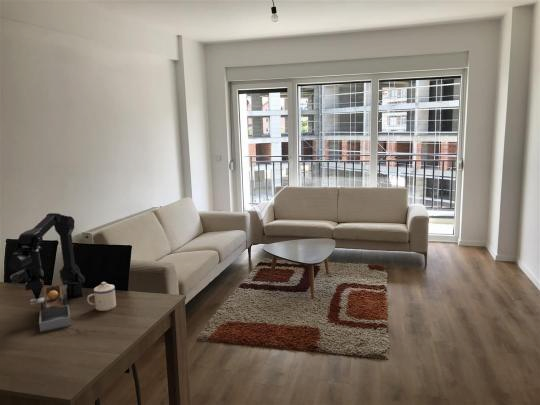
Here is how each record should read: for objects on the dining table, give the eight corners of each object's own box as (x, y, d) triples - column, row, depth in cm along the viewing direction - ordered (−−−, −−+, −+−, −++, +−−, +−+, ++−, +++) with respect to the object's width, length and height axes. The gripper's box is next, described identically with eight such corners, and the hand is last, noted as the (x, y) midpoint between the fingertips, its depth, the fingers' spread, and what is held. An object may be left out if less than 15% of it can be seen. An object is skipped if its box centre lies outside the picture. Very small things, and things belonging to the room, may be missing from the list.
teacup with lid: (115, 301, 197) (112, 277, 195) (118, 308, 189) (115, 283, 187) (87, 307, 192) (84, 282, 190) (89, 314, 184) (86, 288, 182)
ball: (58, 297, 188) (57, 288, 187) (58, 300, 184) (57, 291, 184) (48, 298, 186) (47, 290, 185) (48, 301, 183) (47, 293, 182)
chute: (63, 296, 196) (62, 284, 195) (65, 310, 180) (63, 297, 179) (33, 302, 190) (31, 289, 189) (32, 316, 175) (30, 303, 174)
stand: (68, 307, 192) (67, 292, 191) (69, 311, 187) (67, 296, 186) (41, 312, 187) (39, 297, 186) (41, 317, 182) (39, 301, 181)
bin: (69, 313, 186) (68, 304, 185) (71, 325, 173) (70, 316, 173) (40, 318, 181) (39, 310, 180) (40, 332, 168) (39, 323, 168)
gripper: (11, 260, 179) (16, 295, 182) (8, 272, 163) (13, 311, 165) (41, 256, 184) (45, 290, 187) (40, 267, 168) (45, 305, 170)
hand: (37, 298), depth 177 cm, fingers closed
